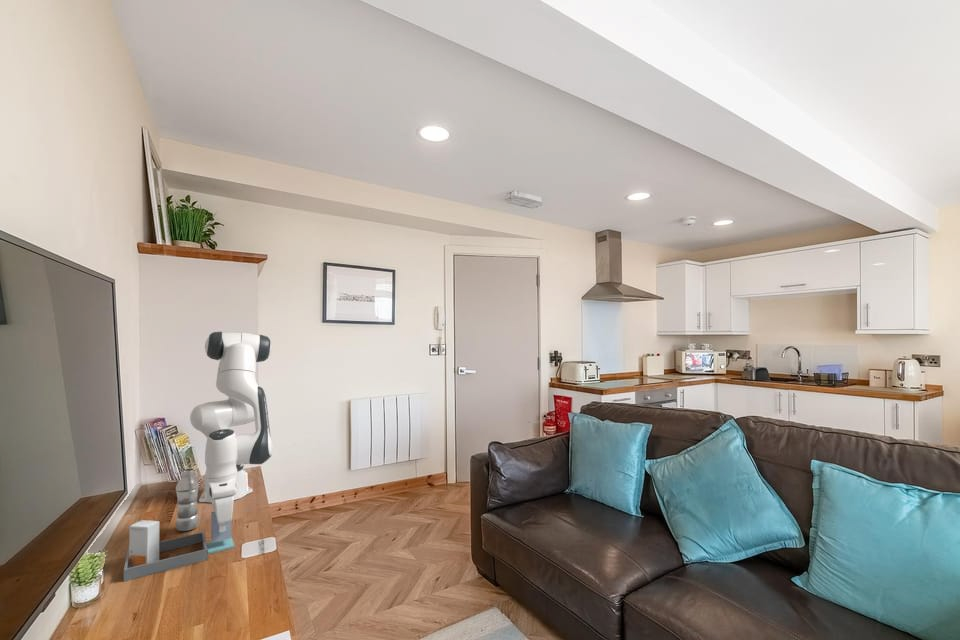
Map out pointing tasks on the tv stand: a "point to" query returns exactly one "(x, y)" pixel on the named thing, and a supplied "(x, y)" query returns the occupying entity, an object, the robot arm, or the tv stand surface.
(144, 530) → the skincare box
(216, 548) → the pad
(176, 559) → the bin
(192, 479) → the plastic bottle
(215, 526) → the slate box
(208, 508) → the tv stand surface
